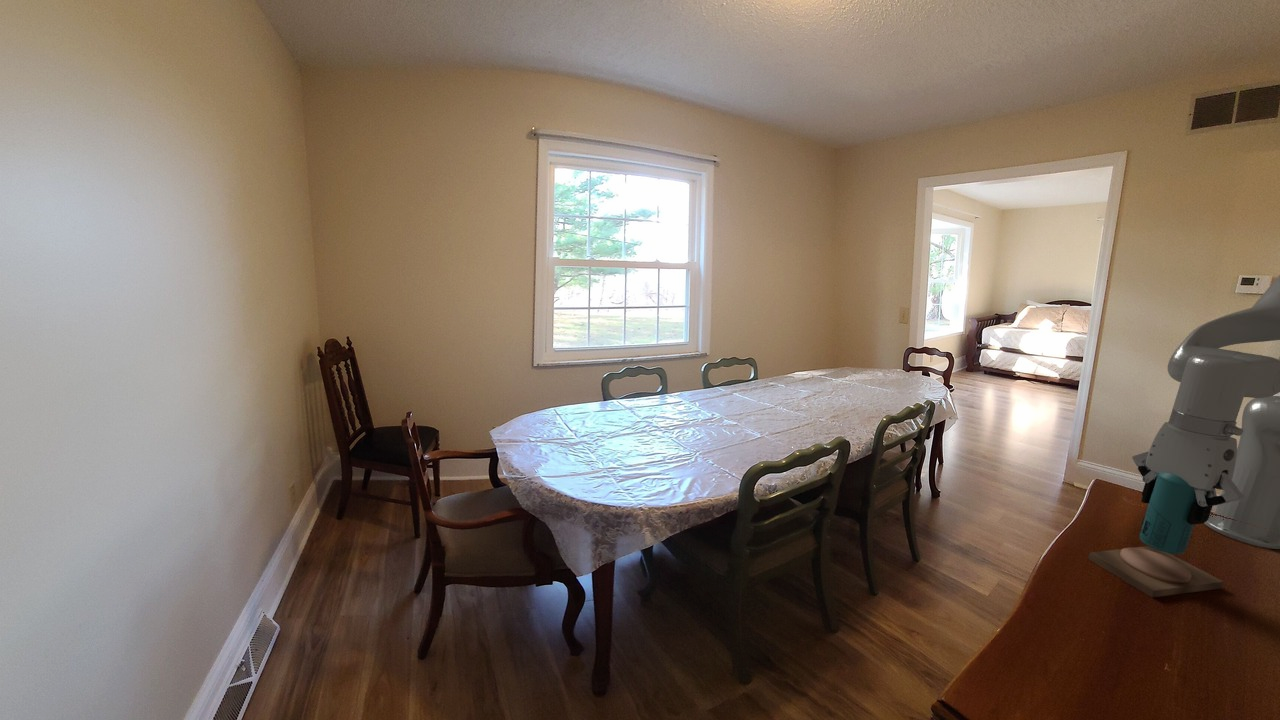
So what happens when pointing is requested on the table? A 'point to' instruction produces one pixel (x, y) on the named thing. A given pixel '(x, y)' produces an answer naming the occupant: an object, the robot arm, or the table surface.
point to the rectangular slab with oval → (1154, 571)
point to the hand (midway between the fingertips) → (1171, 511)
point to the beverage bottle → (1168, 515)
